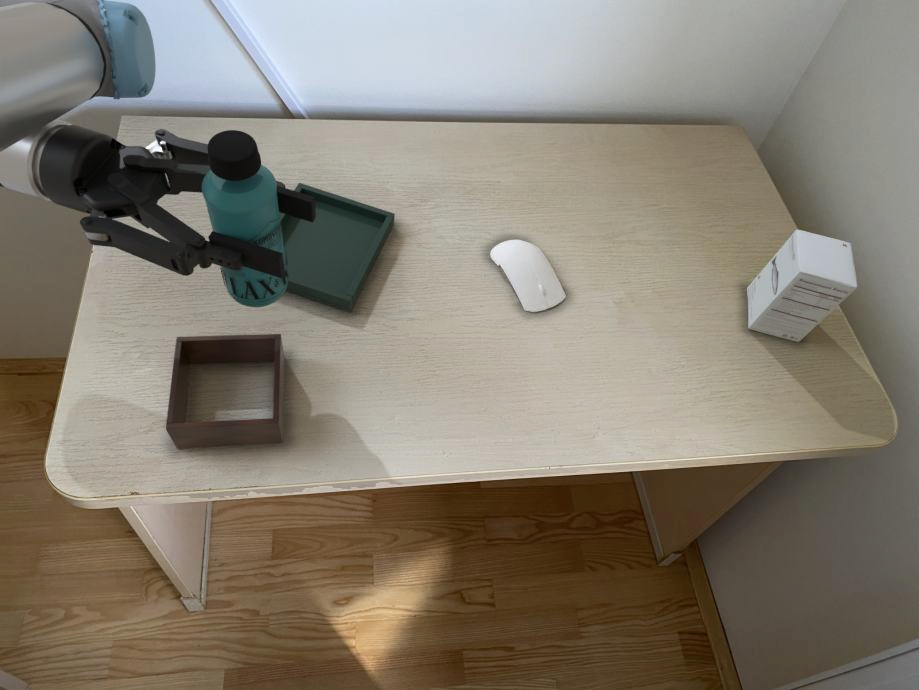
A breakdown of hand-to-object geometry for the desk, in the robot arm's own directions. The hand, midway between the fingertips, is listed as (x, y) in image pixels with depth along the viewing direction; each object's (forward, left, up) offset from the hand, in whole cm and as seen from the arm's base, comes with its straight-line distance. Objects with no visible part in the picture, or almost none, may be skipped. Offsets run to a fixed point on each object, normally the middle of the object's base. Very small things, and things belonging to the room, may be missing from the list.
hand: (298, 236), depth 61 cm
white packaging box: (+51, -34, -20) cm, 65 cm away
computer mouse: (+29, -8, -20) cm, 37 cm away
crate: (-10, 0, -20) cm, 23 cm away
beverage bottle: (-3, +4, -11) cm, 12 cm away
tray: (+11, +11, -20) cm, 25 cm away
